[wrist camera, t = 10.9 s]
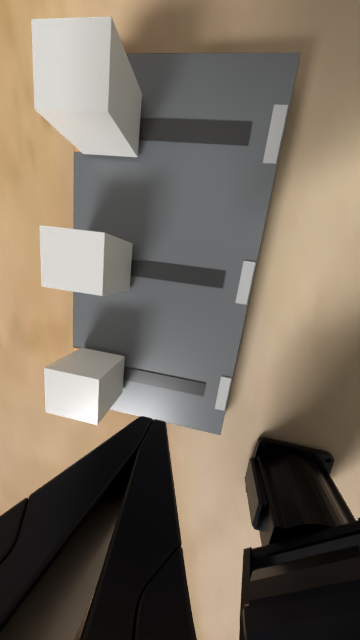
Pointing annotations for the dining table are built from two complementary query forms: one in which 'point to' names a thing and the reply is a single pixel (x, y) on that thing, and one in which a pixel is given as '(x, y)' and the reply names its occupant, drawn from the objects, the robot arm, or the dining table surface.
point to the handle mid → (84, 261)
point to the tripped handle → (86, 84)
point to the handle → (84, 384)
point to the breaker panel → (185, 227)
